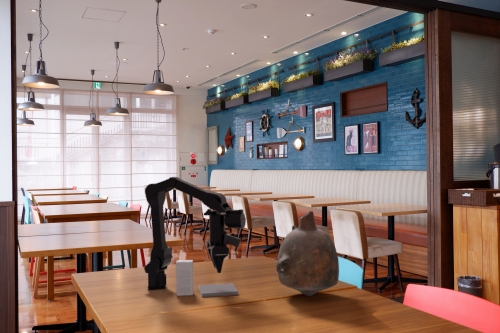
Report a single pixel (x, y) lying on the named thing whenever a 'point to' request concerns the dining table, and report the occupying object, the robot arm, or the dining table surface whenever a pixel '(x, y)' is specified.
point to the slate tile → (218, 290)
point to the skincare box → (184, 277)
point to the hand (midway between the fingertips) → (217, 270)
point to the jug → (308, 258)
